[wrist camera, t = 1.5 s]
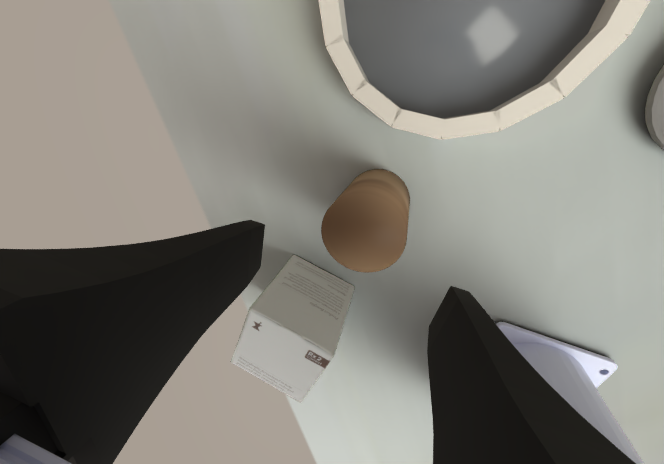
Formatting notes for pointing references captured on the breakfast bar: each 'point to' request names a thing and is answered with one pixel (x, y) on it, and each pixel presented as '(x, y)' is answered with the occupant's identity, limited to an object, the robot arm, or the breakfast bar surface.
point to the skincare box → (294, 328)
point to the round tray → (469, 56)
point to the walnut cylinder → (368, 222)
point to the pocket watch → (656, 109)
